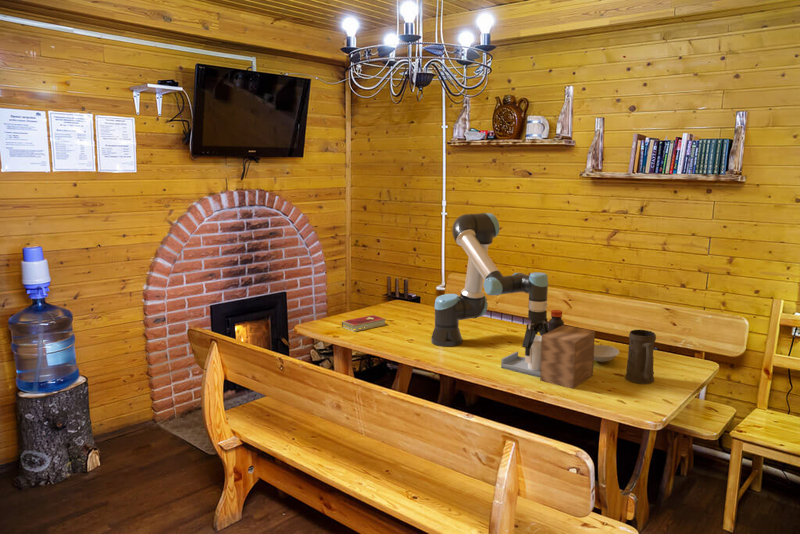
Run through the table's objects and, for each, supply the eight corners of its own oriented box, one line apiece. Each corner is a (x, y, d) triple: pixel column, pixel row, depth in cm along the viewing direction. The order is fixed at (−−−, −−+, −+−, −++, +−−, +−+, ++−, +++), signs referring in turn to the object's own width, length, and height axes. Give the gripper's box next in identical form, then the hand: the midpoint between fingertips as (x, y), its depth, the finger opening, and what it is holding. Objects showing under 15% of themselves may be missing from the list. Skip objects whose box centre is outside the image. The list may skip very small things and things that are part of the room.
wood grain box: (540, 380, 234) (541, 335, 231) (561, 367, 248) (562, 325, 245) (573, 388, 225) (575, 341, 222) (592, 375, 239) (595, 331, 236)
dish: (612, 370, 245) (613, 359, 244) (579, 364, 252) (579, 353, 252) (623, 358, 259) (623, 348, 258) (590, 353, 267) (591, 342, 266)
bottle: (554, 356, 263) (556, 313, 260) (544, 352, 269) (545, 310, 266) (565, 353, 266) (567, 311, 263) (555, 349, 272) (557, 308, 269)
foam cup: (547, 372, 240) (548, 342, 238) (524, 371, 242) (525, 341, 239) (546, 365, 249) (547, 335, 247) (524, 363, 251) (525, 334, 249)
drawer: (501, 367, 249) (501, 358, 248) (516, 360, 259) (516, 351, 258) (543, 378, 236) (544, 369, 235) (558, 369, 246) (558, 360, 245)
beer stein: (619, 374, 240) (623, 328, 235) (644, 373, 241) (649, 327, 236) (637, 390, 225) (642, 342, 220) (664, 389, 226) (669, 341, 221)
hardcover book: (341, 328, 314) (341, 320, 314) (373, 321, 327) (373, 314, 326) (354, 332, 305) (353, 325, 304) (386, 325, 318) (385, 318, 317)
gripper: (531, 317, 229) (529, 368, 233) (559, 305, 248) (557, 353, 251) (514, 314, 234) (513, 364, 238) (543, 303, 253) (541, 349, 256)
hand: (536, 358), depth 245 cm, fingers open, 13 cm apart
